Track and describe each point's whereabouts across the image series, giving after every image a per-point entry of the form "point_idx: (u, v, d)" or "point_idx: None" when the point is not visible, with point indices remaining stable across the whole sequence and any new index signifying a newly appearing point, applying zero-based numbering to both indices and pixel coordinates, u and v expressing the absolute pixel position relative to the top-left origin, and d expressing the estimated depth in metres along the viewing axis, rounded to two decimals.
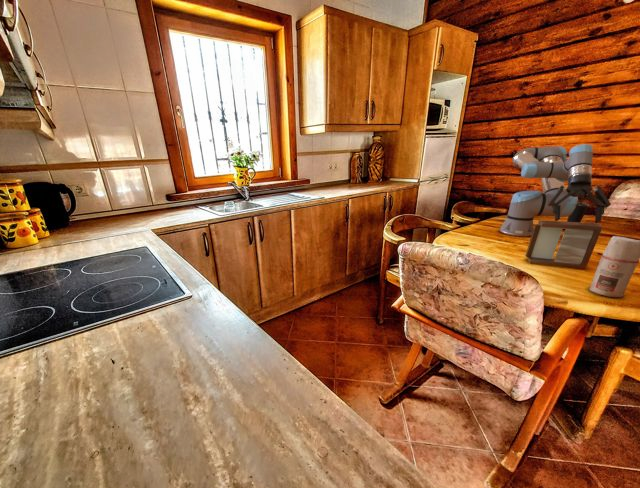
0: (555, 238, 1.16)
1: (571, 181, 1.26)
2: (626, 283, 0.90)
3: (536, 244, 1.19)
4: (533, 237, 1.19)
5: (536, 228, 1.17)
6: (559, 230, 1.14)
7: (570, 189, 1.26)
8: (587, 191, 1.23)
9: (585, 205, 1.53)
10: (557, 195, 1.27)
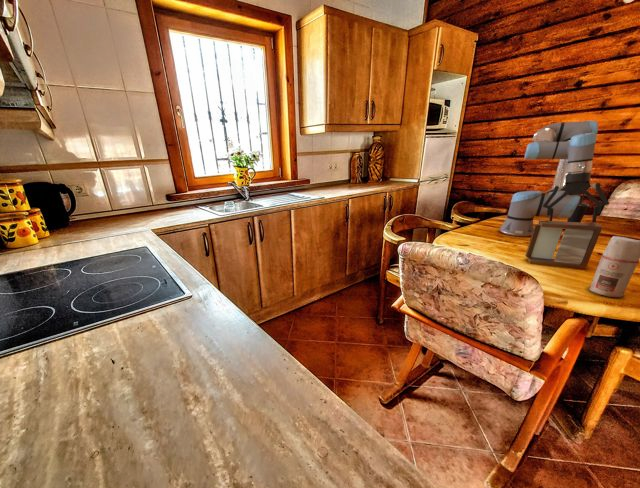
0: (555, 238, 1.16)
1: (566, 180, 1.20)
2: (626, 283, 0.90)
3: (536, 244, 1.19)
4: (533, 237, 1.19)
5: (536, 228, 1.17)
6: (559, 230, 1.14)
7: (565, 189, 1.21)
8: (583, 191, 1.17)
9: (585, 205, 1.53)
10: (550, 197, 1.24)
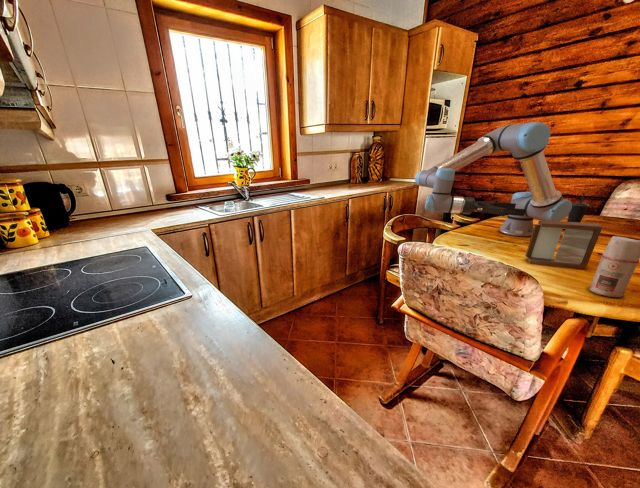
0: (555, 238, 1.16)
1: None
2: (626, 283, 0.90)
3: (536, 244, 1.19)
4: (533, 237, 1.19)
5: (536, 228, 1.17)
6: (559, 230, 1.14)
7: None
8: None
9: (585, 205, 1.53)
10: None
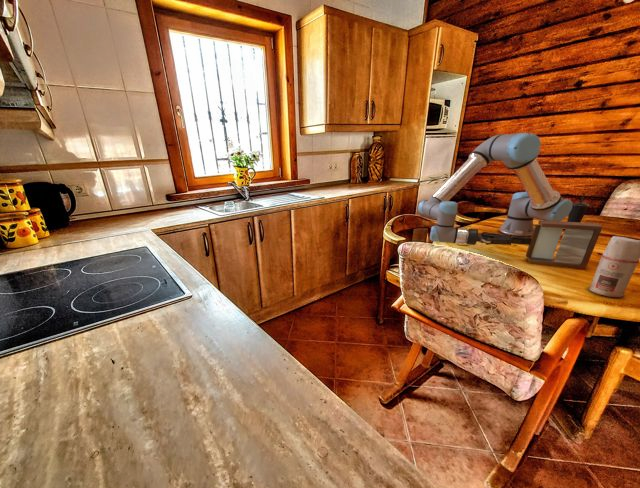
0: (555, 238, 1.16)
1: None
2: (626, 283, 0.90)
3: (536, 244, 1.19)
4: (533, 237, 1.19)
5: (536, 228, 1.17)
6: (560, 230, 1.14)
7: None
8: None
9: (585, 205, 1.53)
10: None
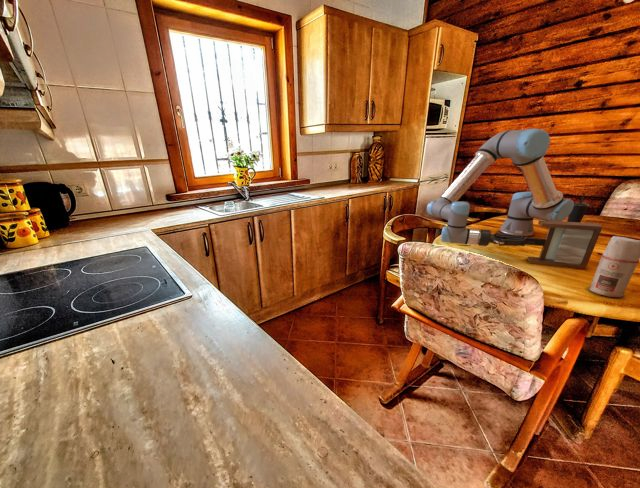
0: None
1: None
2: (626, 283, 0.90)
3: (550, 245, 1.17)
4: (548, 238, 1.17)
5: (551, 229, 1.15)
6: None
7: None
8: None
9: (585, 205, 1.53)
10: None
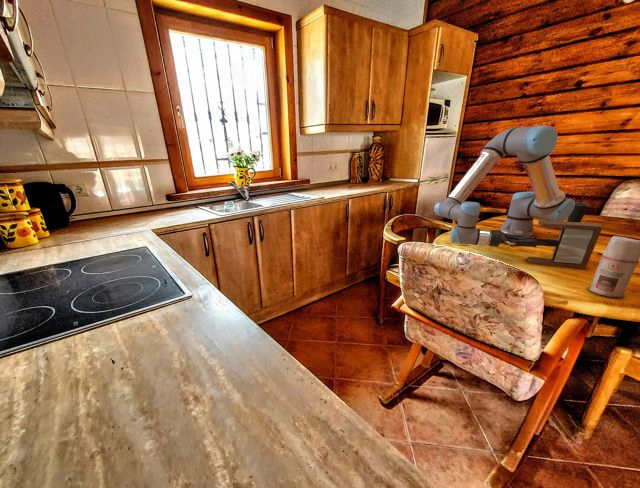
0: None
1: None
2: (626, 283, 0.90)
3: None
4: (560, 239, 1.15)
5: (563, 230, 1.13)
6: None
7: None
8: None
9: (585, 205, 1.53)
10: None
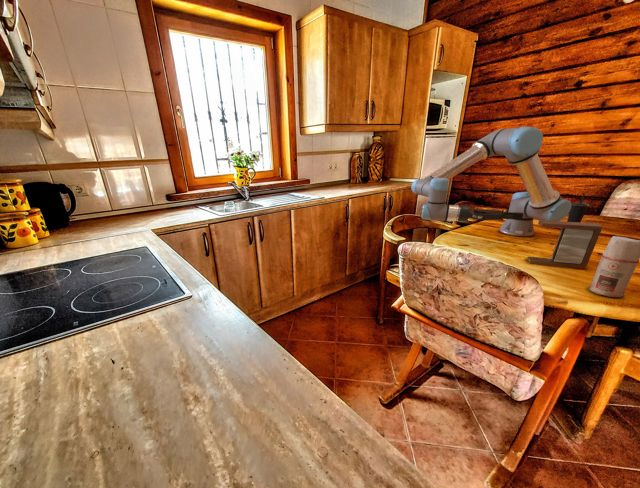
0: None
1: None
2: (626, 283, 0.90)
3: None
4: (560, 239, 1.15)
5: (563, 230, 1.13)
6: None
7: None
8: None
9: (585, 205, 1.53)
10: None
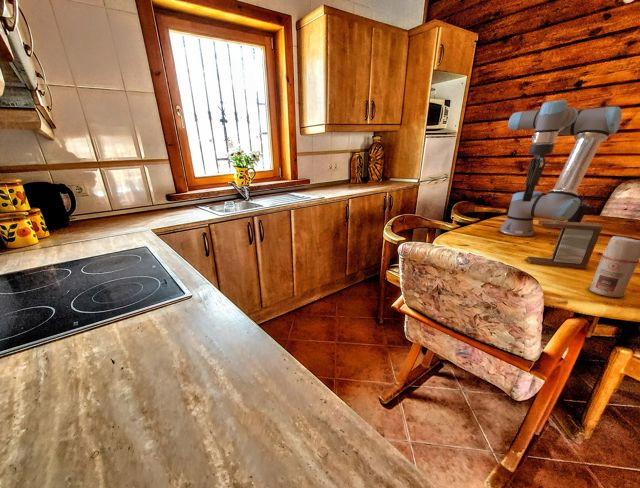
0: None
1: None
2: (626, 283, 0.90)
3: None
4: (560, 239, 1.15)
5: (563, 230, 1.13)
6: None
7: None
8: (533, 164, 1.16)
9: (585, 205, 1.53)
10: (528, 172, 1.23)
